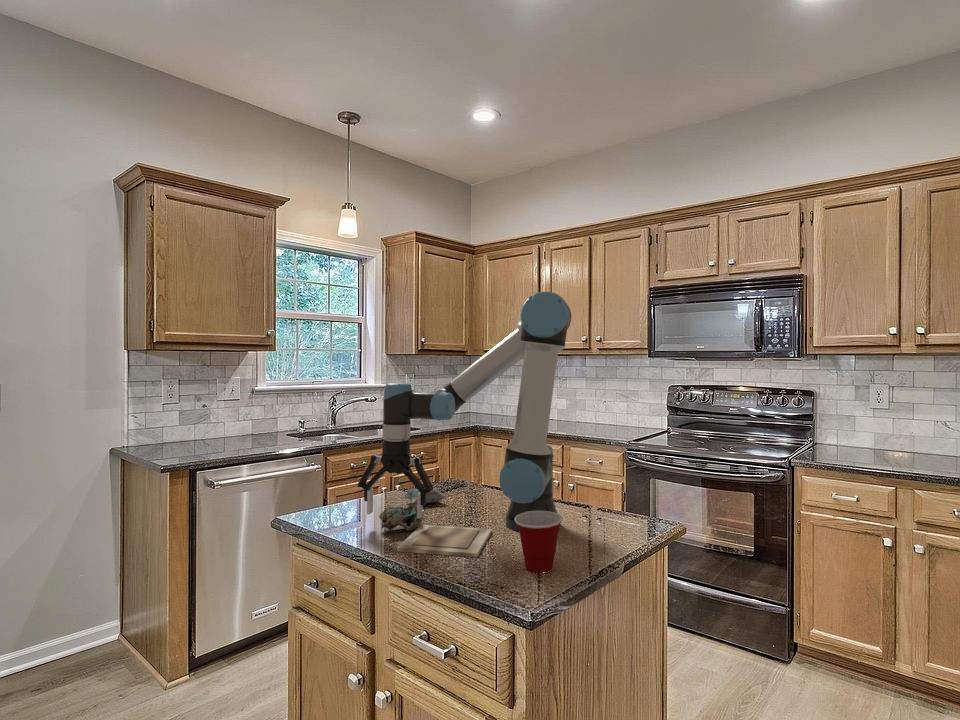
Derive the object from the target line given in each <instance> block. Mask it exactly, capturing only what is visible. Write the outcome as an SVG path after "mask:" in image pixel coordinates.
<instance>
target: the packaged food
mask: <svg viewBox="0 0 960 720" xmlns="http://www.w3.org/2000/svg"><path fill="white" fill-rule="evenodd" d="M419 493H420V492H419V491H418V489H417V488H416V487H415V488H412V489H409V490H407V492H406V494H405V495H404V499H407V500H409V501H410V502H411V503H412V504H416V505H417V496H418V494H419ZM447 498H448V495H447V494H446V493H445V494H444V493H442V492H441V491H440V489H439V488H437V487H434V486H433V490H432V491H431V492H428V493H427V494H426V504H425V505H430V504H435V503H438V502H441V501H443V500H445V499H447Z"/></svg>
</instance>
